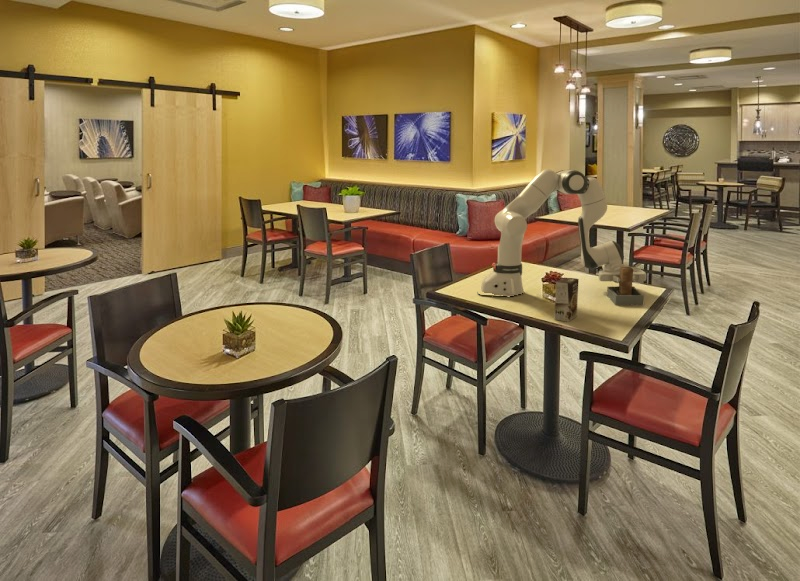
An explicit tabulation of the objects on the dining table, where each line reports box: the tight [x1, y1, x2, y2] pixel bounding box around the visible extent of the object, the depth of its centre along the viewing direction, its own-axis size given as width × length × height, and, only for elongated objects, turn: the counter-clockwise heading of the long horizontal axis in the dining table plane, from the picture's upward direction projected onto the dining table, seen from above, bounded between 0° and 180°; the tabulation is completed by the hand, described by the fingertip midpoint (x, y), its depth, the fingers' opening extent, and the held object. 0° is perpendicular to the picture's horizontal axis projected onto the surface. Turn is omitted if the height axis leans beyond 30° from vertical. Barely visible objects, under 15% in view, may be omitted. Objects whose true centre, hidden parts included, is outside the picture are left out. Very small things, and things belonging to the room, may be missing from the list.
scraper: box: [616, 267, 633, 295], centre depth 249 cm, size 5×9×13 cm, turn 174°
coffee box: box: [553, 277, 579, 323], centre depth 228 cm, size 9×6×16 cm
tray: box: [606, 285, 645, 306], centre depth 251 cm, size 12×16×4 cm
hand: (626, 280), depth 248 cm, fingers open, 4 cm apart
